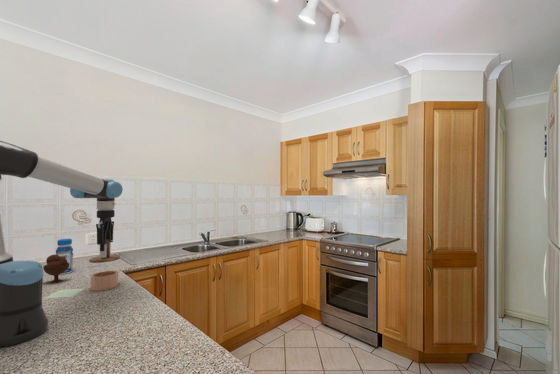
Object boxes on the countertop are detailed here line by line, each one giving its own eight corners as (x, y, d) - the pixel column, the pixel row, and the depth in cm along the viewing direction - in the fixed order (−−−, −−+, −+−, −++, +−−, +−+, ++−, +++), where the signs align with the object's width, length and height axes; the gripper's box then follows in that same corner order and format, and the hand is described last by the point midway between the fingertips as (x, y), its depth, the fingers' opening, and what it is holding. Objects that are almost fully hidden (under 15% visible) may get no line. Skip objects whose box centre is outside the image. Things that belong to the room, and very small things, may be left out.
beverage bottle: (76, 270, 162) (77, 238, 162) (63, 275, 153) (64, 240, 154) (64, 270, 162) (64, 238, 163) (50, 274, 154) (51, 240, 155)
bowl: (111, 291, 126) (111, 276, 126) (85, 292, 124) (85, 278, 124) (121, 283, 137) (121, 270, 137) (98, 285, 135) (98, 271, 135)
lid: (113, 262, 126) (113, 241, 126) (83, 263, 123) (83, 242, 124) (124, 255, 138) (124, 237, 139) (97, 257, 136) (97, 238, 137)
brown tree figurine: (54, 286, 133) (54, 257, 134) (36, 285, 135) (37, 256, 136) (74, 280, 143) (74, 252, 144) (58, 279, 146) (58, 251, 146)
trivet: (71, 298, 118) (71, 296, 118) (43, 299, 116) (43, 298, 116) (85, 289, 129) (85, 288, 129) (60, 291, 127) (60, 289, 127)
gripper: (105, 210, 124) (105, 260, 123) (121, 208, 141) (120, 252, 140) (88, 210, 123) (87, 261, 122) (105, 209, 139) (105, 253, 139)
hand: (105, 256), depth 131 cm, fingers closed on lid, 4 cm apart
